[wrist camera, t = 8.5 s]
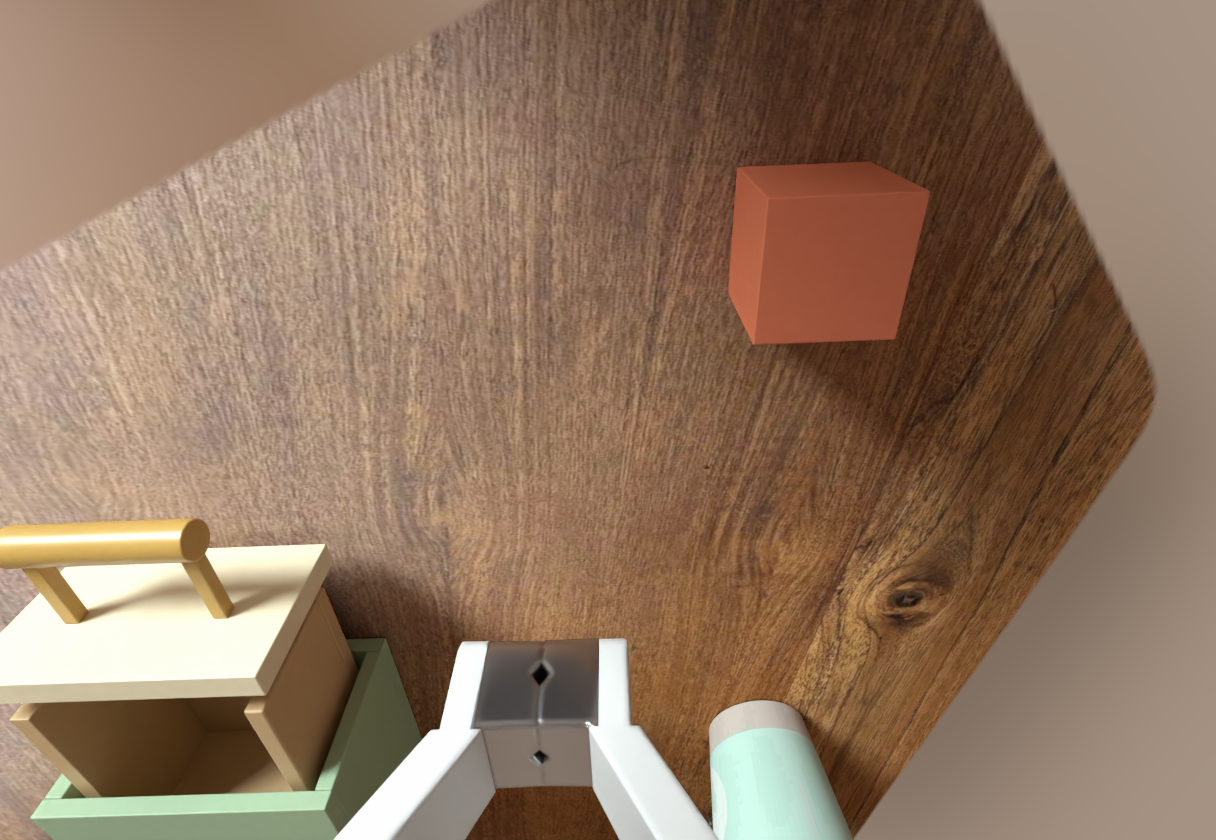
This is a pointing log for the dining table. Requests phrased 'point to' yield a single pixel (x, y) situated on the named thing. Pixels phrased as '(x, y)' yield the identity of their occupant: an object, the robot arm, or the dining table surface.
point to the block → (823, 251)
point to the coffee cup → (769, 777)
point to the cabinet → (270, 821)
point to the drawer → (173, 659)
